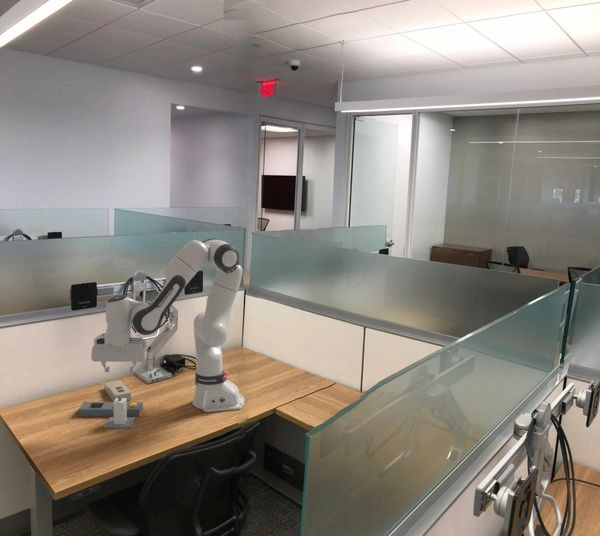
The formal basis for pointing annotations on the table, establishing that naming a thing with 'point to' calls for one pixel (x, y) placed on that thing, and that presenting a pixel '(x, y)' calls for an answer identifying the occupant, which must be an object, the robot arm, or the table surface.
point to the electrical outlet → (117, 390)
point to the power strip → (108, 409)
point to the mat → (111, 424)
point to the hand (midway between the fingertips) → (119, 371)
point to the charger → (120, 410)
